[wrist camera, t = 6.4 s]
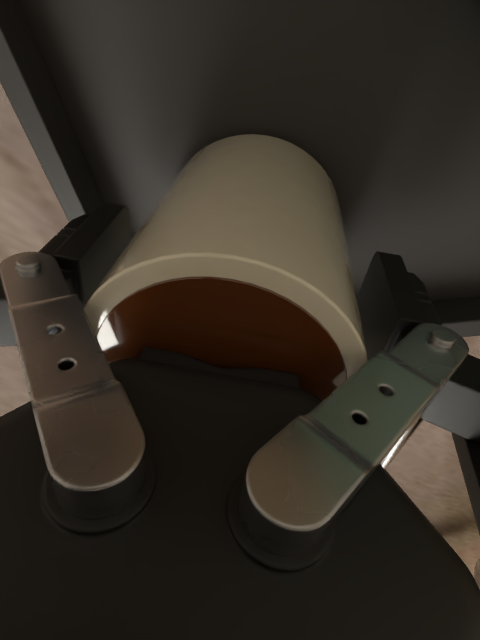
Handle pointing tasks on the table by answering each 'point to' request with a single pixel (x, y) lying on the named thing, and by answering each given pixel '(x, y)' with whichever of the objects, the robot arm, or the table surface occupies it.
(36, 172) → the table surface
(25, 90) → the tray
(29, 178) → the table surface
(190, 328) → the cream cup
